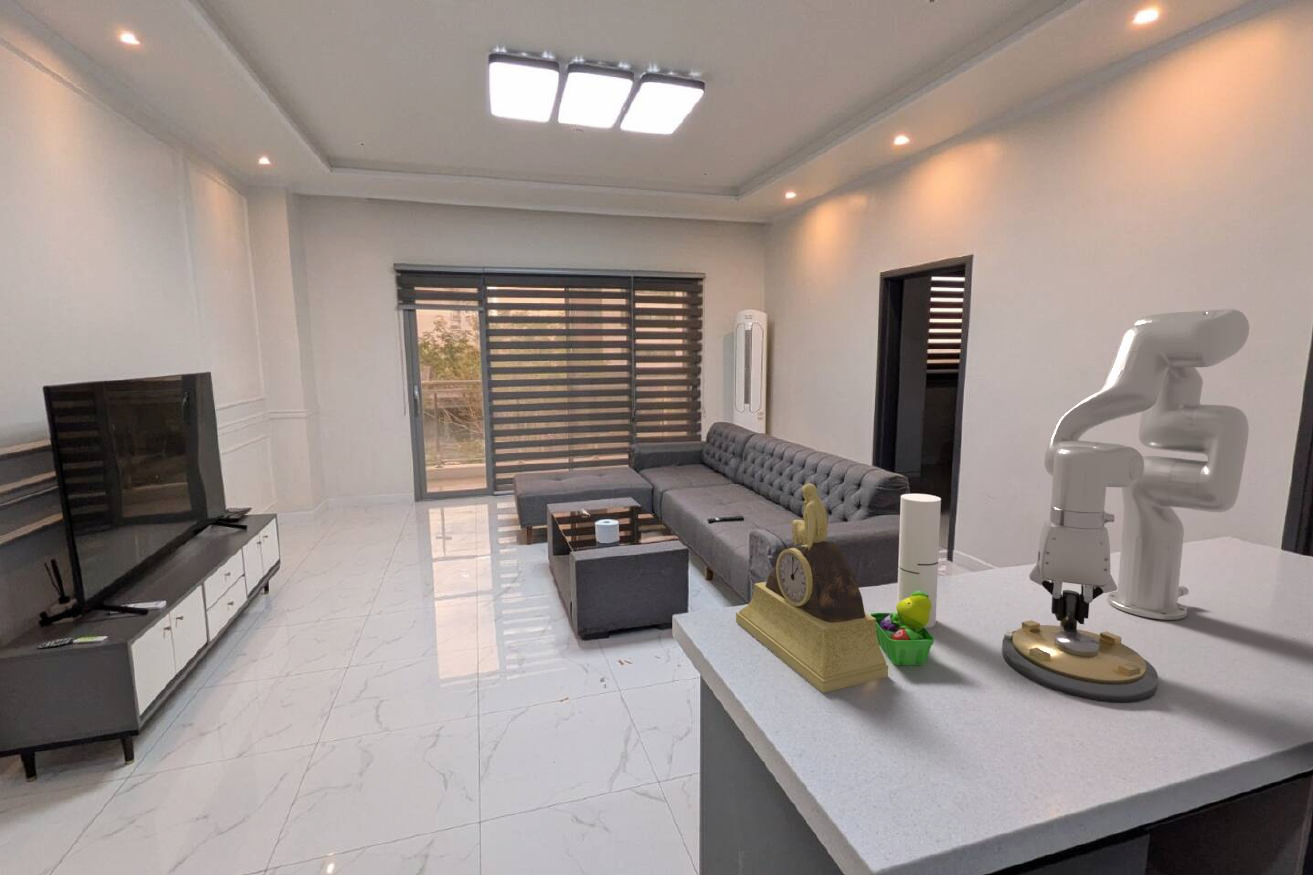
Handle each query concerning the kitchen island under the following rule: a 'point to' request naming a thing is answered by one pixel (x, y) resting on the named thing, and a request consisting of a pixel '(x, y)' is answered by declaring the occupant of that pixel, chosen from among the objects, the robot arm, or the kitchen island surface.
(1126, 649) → the gold dial with handle
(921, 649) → the fruit basket
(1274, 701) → the kitchen island surface
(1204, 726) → the kitchen island surface
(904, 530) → the cylindrical container
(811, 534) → the decorative clock
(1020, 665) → the cap plate
